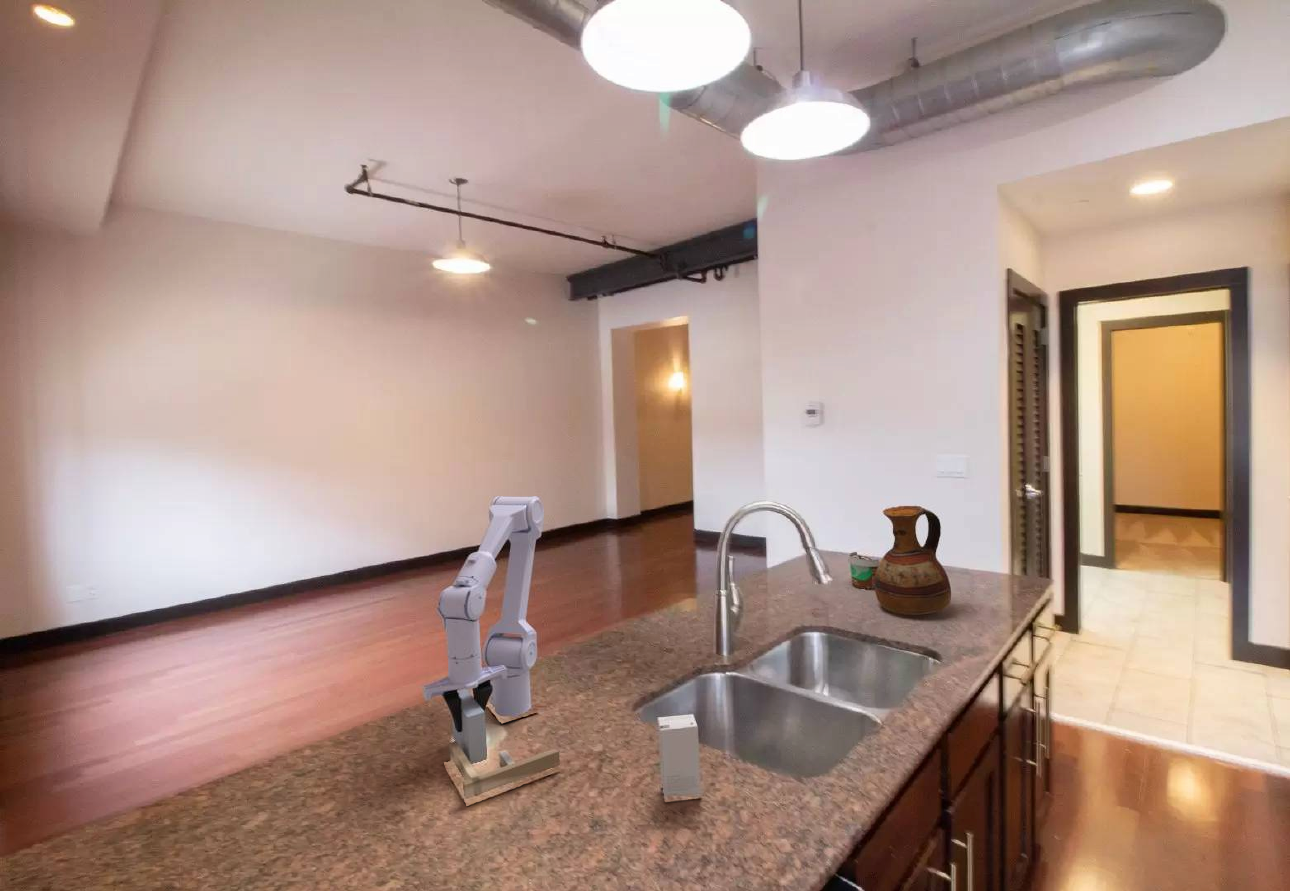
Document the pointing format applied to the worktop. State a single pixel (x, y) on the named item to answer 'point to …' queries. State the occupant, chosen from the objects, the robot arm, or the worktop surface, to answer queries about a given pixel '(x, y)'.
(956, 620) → the worktop surface
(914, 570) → the ceramic pitcher
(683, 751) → the skincare box
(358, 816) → the worktop surface
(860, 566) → the food container
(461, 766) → the book rack
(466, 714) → the book
